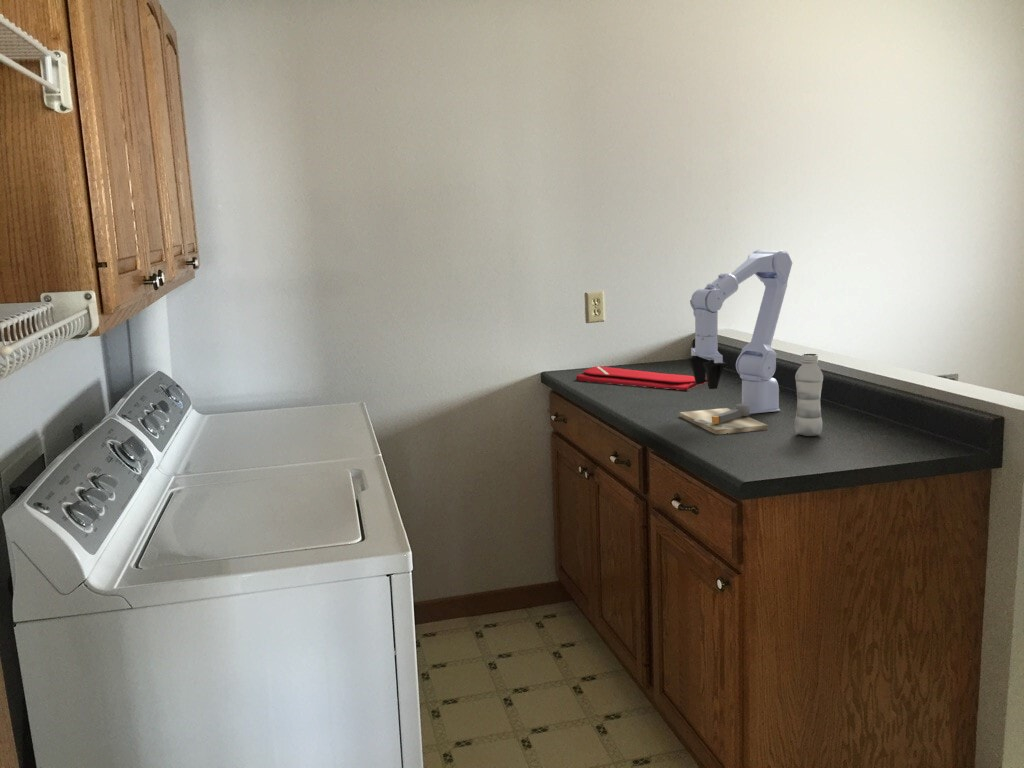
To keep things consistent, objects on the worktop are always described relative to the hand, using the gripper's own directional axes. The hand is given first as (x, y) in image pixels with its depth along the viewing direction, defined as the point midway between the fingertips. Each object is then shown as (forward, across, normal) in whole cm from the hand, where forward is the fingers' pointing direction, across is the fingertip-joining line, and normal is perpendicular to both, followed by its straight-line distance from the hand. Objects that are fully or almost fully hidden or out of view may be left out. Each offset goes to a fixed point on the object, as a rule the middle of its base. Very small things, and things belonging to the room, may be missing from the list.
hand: (706, 386), depth 239 cm
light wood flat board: (+9, +4, +2) cm, 10 cm away
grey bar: (+8, +7, +4) cm, 11 cm away
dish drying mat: (+10, -59, +5) cm, 60 cm away
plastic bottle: (+10, +24, +15) cm, 30 cm away
